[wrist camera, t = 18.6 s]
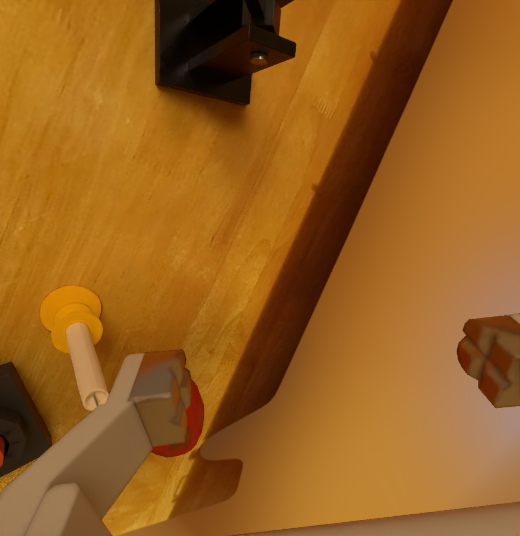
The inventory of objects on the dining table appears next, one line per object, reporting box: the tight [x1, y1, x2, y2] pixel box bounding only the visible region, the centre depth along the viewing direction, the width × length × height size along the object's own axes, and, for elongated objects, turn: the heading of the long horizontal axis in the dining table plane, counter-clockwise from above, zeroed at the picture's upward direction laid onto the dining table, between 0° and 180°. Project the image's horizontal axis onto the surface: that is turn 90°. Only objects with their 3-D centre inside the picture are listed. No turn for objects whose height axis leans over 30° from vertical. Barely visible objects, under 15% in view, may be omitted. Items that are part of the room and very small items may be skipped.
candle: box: [40, 285, 109, 411], centre depth 25 cm, size 5×5×16 cm
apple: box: [151, 379, 204, 457], centre depth 34 cm, size 8×8×11 cm
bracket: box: [155, 0, 296, 106], centre depth 27 cm, size 10×8×12 cm
